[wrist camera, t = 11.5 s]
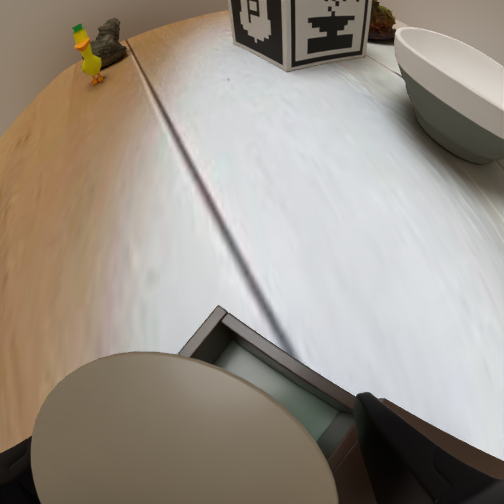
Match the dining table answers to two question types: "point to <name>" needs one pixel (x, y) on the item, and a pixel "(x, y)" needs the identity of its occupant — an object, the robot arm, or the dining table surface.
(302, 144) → the dining table surface
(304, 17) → the block
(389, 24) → the cactus
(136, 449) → the tin
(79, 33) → the toy figure
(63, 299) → the dining table surface
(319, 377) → the stepped brown tray
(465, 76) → the bowl
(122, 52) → the seashell
